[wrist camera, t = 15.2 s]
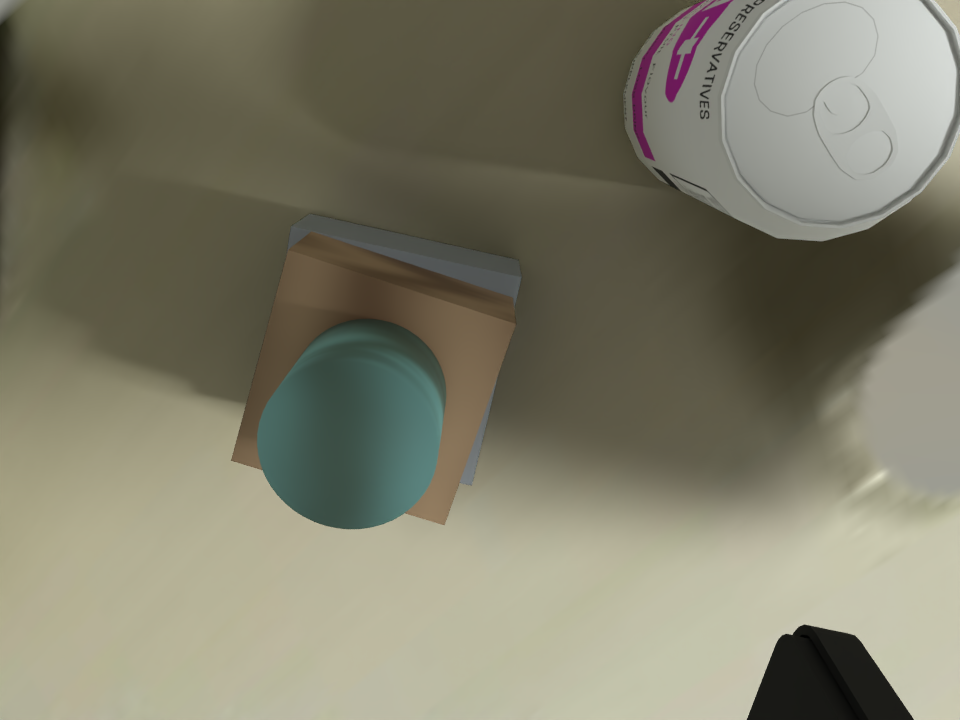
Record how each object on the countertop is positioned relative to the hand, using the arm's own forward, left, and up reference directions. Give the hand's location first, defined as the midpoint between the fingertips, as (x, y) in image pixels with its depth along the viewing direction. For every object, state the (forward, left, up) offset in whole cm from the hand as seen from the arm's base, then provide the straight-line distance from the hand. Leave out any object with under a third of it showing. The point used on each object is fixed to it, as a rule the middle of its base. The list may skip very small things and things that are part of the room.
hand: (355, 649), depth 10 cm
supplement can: (-10, -8, -32) cm, 35 cm away
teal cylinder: (+2, +6, -24) cm, 25 cm away
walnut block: (+2, +6, -28) cm, 29 cm away
